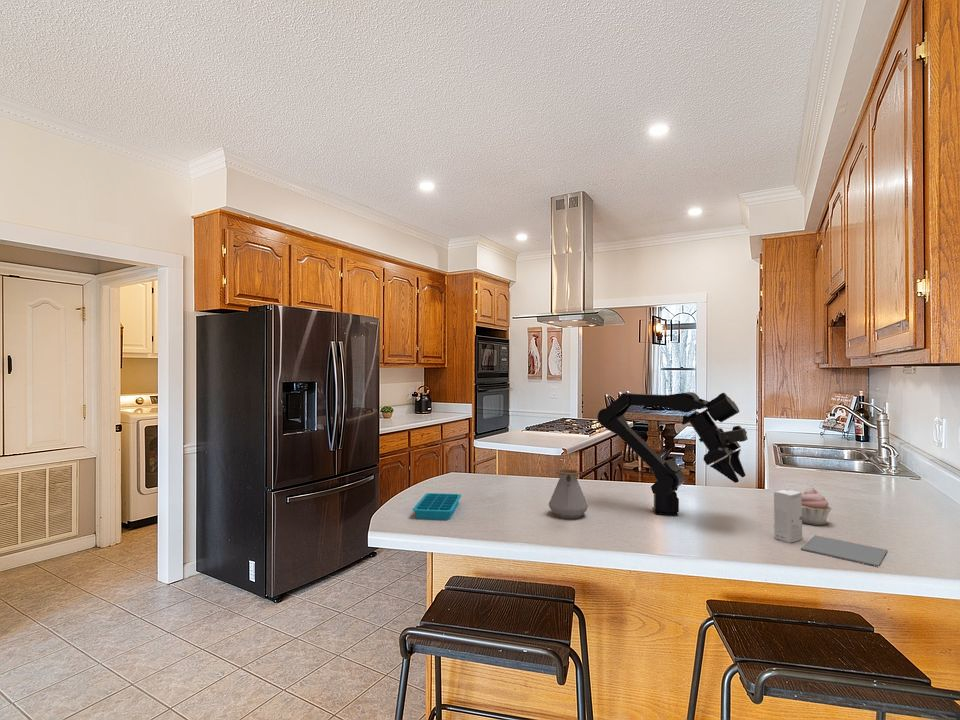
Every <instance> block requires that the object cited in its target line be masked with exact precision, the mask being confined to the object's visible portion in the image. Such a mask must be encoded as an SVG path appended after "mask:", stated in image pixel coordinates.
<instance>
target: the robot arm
mask: <svg viewBox="0 0 960 720" xmlns="http://www.w3.org/2000/svg"><path fill="white" fill-rule="evenodd" d="M631 406H636V407H637V406H638V407H639V406H640V407H655V408H665V409H670V410H674V411H678V412H682V413H689V412H690V413H691V412H693V413H691V414H690V415H687V414H685V415H683V416H682V417H683V418H682V422H681V425H683V426H684V425H688V424H690V425H691V427H692V428H693V430H694V431H695V432H696V434H697V436H698V437H699V439H698V441H699V442H700V443H703V444H704V446H705V448H706V449H707V450H708V451H707V453H706V454H704V455H703V458H702V459H703V462H704V463H705V464H706V466H709V468H712V469H714V470H715V471H717V472H718V473H720V474H721V475H723V476H725V477H726V478H728V479H729V480H730V481H732V482H733V483H734V484H735V483H739V482H740V479H739V478H738V476H740V477H741V478H744V477H746V472H745V470H744V467H743V465H742V462H741V460H740V453H741V449H742V448H741V445H740V443H742V442H746V441H748V435H747V434H748V432H747V431H746V428H743V427H741V426H740V425H736V426H733V427H732V430H727V431H724V429H723V428H720V427H718V426H717V424H716V423H715V422H717V421H718V422H720V423H723V422H724V421H727V420H728V419H730V418H731V417H733V416H735V415H737V414H738V413H740V409H739V407H738V406H737V404H736V402H735V401H734V400H732V399H731V398H730V396H728V395H727V394H726V393H725V392H722V393H719V394H718V396H716V397H715V398H713V399H711V400H710V401H708V400H705V399H702V398H700V397H699V395H697V393H695V392H693V391H692V392H691V391H687V392H680V393H673V394H653V393H651V394H650V393H632V392H625V393H624V392H623V393H621V394H620V395H619V396H618V398H617V399H616V400H615V399H614V401H613V402H611V403H610V404H609V405H607V407H606V408H605V407H604V408H602V409H600V410H599V411H598V414H597V422H598V424H599V425H601V426H602V427H603V428H605V429H606V430H608V431H610V432H612V433H613V434H615V435H617V436H618V437H619V438H620V439H621V440H622V441H623V442H624V443H625V444H627V446H629V448H630V449H632V451H633V452H634V453H635V454H636V455H637V456H638V457H640V459H641V460H642V461H643V462H644V463H645V464H646V465H647V466H648V467H649V468H650V470H651V472H652V474H653V476H654V478H655V479H656V482H655V483H652V485H651V486H650V489H651V491H652V494H653V507H652V511H653V512H654V514H655V515H661V516H662V515H663V516H679V512H680V501H679V500H680V498H679V497H678V493H677V492H676V491H678V489H679V487H680V486H682V485H683V484H684V482H685V473H684V472H683V470H682V469H683V468H682V467H681V466H679V465H678V464H677V463H676V462H675V461H674V459H672V458H671V459H668V460H666V459H664V458H662V457H661V456H660V455H659V454H658V453H657V452H656V451H655V450H654V449H653V448H652V447H651V446H650V445H649V444H647V442H646V441H645V440H644V439H643V438H642V437H641V436H639V434H637V432H636V431H635V430H634V429H633V428H632V427H630V426H629V423H628V420H627V419H626V416H624V415H625V414H626V413H627V412H628V410H629V409H630V408H631ZM703 409H704V410H703ZM697 410H703V411H700V412H699V411H697Z"/></svg>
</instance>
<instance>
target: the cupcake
mask: <svg viewBox="0 0 960 720" xmlns="http://www.w3.org/2000/svg"><path fill="white" fill-rule="evenodd" d="M801 500H802V524H806V523H807V525H813V526H823V525H825V524H826V523H827V520H828V519H827V518H828V516H829V513H830V512H831V510H833V508H832V507H830V505H829V501H828V500H827V499H826V497H825V496H824V495H823V494H822V493H821V492H819V491H818V490H816V489H815V488H814V487H811V488H808V489H806V490H805V491H804V492H803V493H801Z"/></svg>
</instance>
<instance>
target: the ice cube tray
mask: <svg viewBox="0 0 960 720" xmlns="http://www.w3.org/2000/svg"><path fill="white" fill-rule="evenodd" d="M461 497H462V494H460V493H442V492H441V493H438V492H434V493H433V492H428V493H425V494H424V495H423V496H422V498H420V500H419V501H418V502H417V503H416V504H415V506H414V507H412V511H414V512H415V518H416V519H418V520H419V519H422V520H445V521H448V520H450V519H451V518H452V517H453V515H454V512H455V511H456V510H457V507H458V506H459V501H460V499H461Z"/></svg>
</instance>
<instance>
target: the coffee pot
mask: <svg viewBox="0 0 960 720" xmlns="http://www.w3.org/2000/svg"><path fill="white" fill-rule="evenodd" d="M555 472H556V474H557V475H558V477H559V479H558V481H557V483H556V485H555V488H554V491H553V492H552V495H551V497H550V500H549V502H548V507H549V509H550V510H551V512H552V513H554V516H556V517H558V518H561V519H562V518H563V519H579V518H581V517H582V515H584V514H585V513H586V512H587V510H588V507H589V505H588V503H587V500H586V497H585V496H584V492H583V490H582V488H581V485H580V483H579V481H578V476H579V474H580V471H579V470H577V469H576V470H575V469H559V470H556V471H555Z"/></svg>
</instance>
